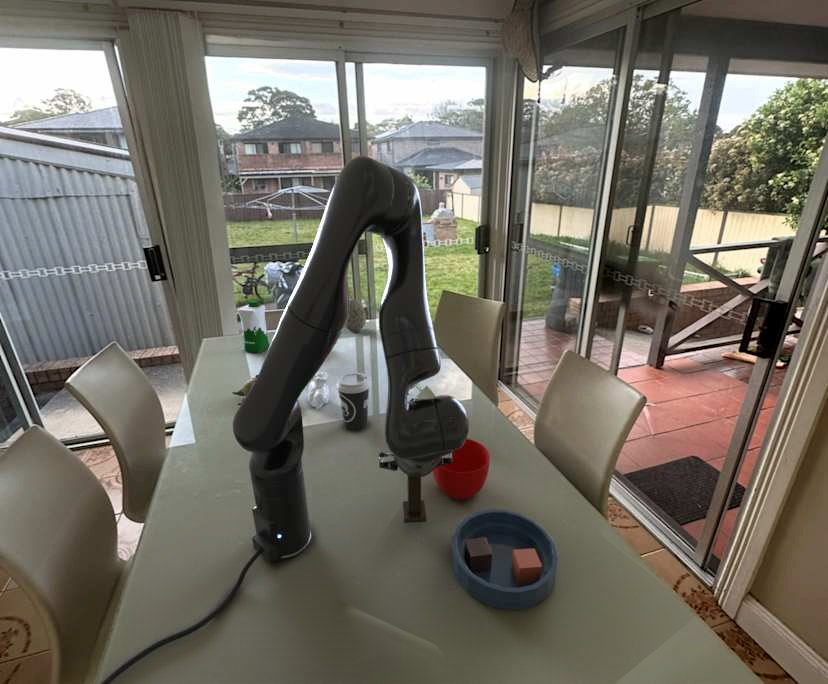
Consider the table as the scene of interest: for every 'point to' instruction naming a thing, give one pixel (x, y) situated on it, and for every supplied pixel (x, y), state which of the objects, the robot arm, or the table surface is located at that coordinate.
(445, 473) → the ceramic cup
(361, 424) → the coffee cup
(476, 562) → the walnut block
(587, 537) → the table surface
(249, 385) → the ceramic sculpture
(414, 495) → the wooden post with base
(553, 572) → the bowl
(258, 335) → the soya milk
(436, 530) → the table surface
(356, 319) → the decorative egg
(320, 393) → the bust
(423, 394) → the flower vase
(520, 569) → the terracotta block
